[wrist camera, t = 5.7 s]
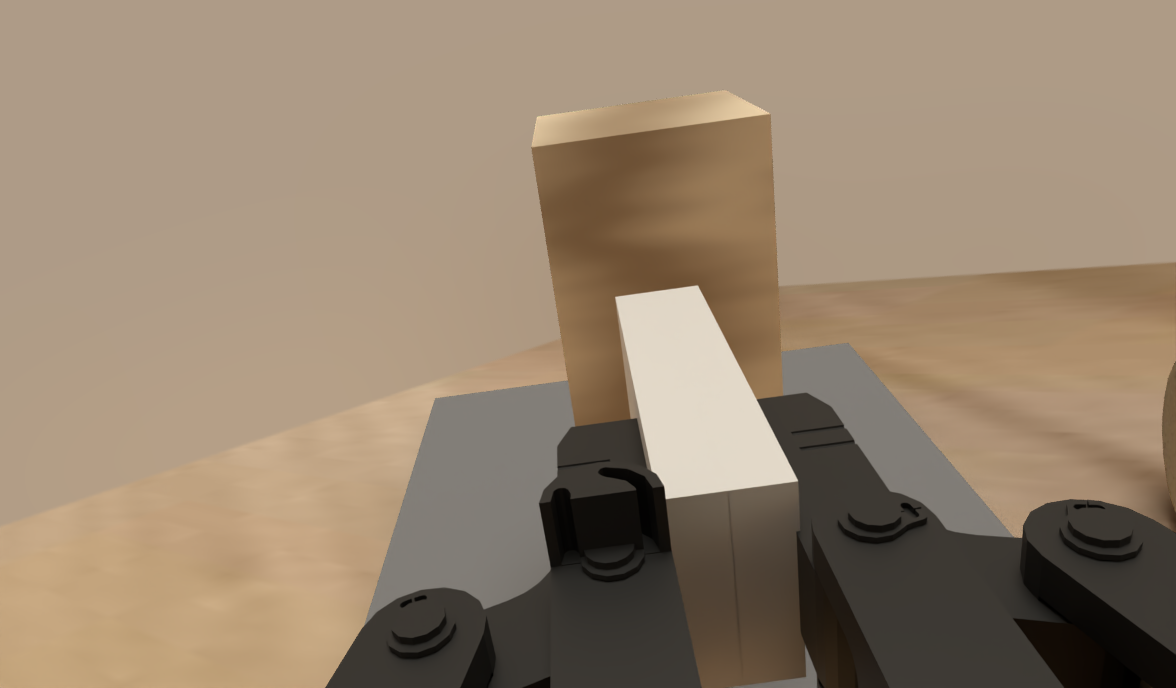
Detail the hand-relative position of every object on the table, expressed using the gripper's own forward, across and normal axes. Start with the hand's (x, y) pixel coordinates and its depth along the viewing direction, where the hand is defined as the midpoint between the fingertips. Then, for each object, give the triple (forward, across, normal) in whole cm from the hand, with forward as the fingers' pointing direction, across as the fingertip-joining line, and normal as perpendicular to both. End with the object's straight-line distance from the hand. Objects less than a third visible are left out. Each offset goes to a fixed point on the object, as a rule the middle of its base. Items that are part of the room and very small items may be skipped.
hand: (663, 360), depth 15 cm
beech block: (+6, 0, -10) cm, 12 cm away
